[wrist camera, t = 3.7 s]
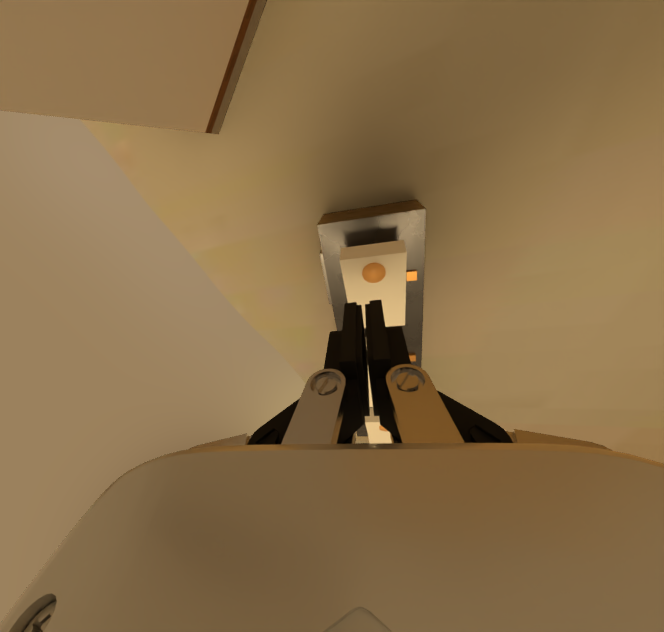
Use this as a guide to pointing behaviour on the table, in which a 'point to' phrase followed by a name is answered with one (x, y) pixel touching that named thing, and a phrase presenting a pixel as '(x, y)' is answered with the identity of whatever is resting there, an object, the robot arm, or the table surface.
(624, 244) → the table surface
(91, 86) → the display case
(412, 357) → the power strip
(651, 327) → the table surface
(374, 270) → the rocker
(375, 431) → the rocker
